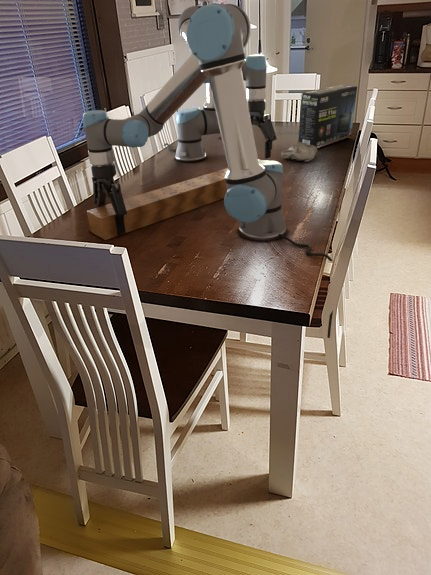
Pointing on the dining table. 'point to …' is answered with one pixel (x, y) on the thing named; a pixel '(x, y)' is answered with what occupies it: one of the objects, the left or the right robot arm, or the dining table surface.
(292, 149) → the fossil
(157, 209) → the wooden beam
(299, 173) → the dining table surface
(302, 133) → the router box
